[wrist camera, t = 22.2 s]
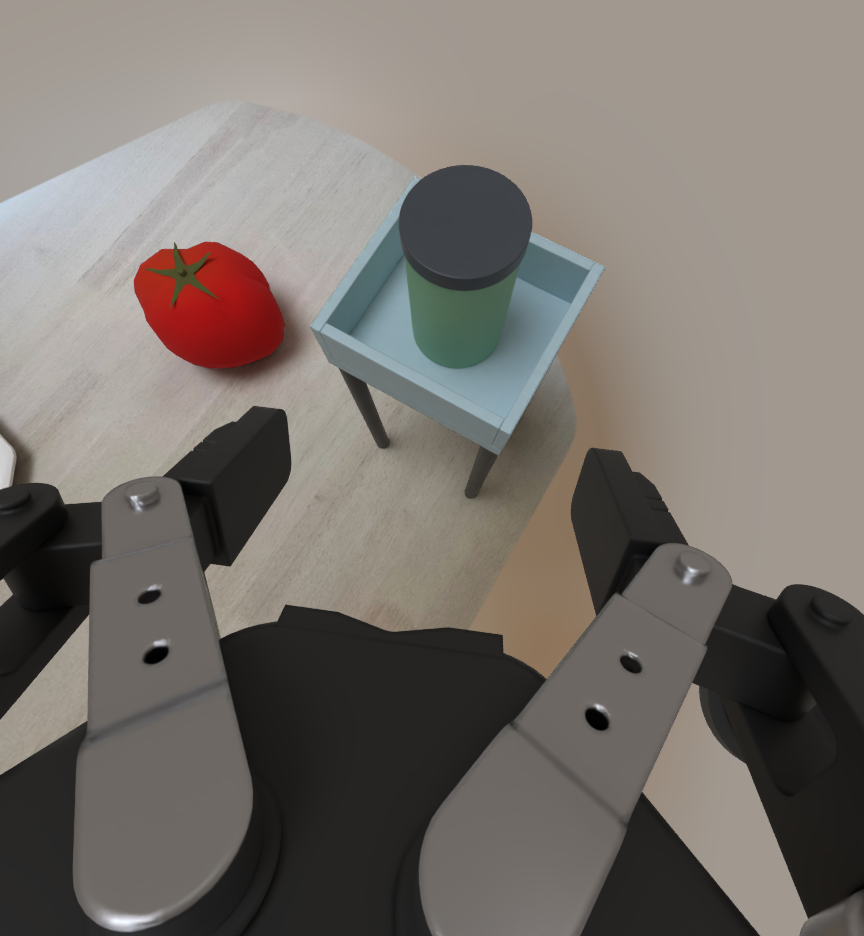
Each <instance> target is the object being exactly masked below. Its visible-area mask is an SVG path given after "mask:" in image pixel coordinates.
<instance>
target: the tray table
mask: <svg viewBox="0 0 864 936" xmlns="http://www.w3.org/2000/svg"><path fill="white" fill-rule="evenodd" d="M420 180H421V179H419V178H417V177H414V178H413V180H412V181H411V183H410V184H409V185H408V187H407V188H406V190H405V191H404V193H403V194H402V195H401V197H400V198H399V200H398V201H397V203H396V204H395V205H394V207H393V208H392V210H391V211H390V213H389V214H388V215H387V217H386V218H385V220H384V221H383V223H382V224H381V225H380V227H379V228H378V230H377V231H376V233H375V234H374V235H373V237H372V238H371V240H370V241H369V243H368V244H367V245H366V247H365V248H364V250H363V251H362V253H361V254H360V255H359V257H358V258H357V260H356V261H355V263H354V264H353V265H352V267H351V268H350V270H349V271H348V273H347V274H346V275H345V277H344V278H343V280H342V281H341V283H340V284H339V285H338V287H337V288H336V290H335V291H334V293H333V294H332V295H331V297H330V298H329V300H328V301H327V303H326V304H325V305H324V307H323V308H322V310H321V311H320V313H319V314H318V315H317V317H316V318H315V320H314V321H313V323H312V324H311V325H310V327H311V329H312V331H313V333H314V335H315V337H316V339H317V341H318V342H319V344H320V346H321V348H322V350H323V352H324V354H325V356H326V358H327V360H328V361H329V363H331V364H333V365H335V366H336V367H338V368H339V370H340V372H341V374H342V376H343V378H344V380H345V382H346V384H347V386H348V388H349V390H350V392H351V394H352V396H353V398H354V400H355V402H356V404H357V406H358V408H359V410H360V412H361V414H362V416H363V418H364V420H365V422H366V424H367V426H368V428H369V430H370V432H371V434H372V436H373V438H374V440H375V442H376V444H377V446H378V447H379V448H386V447H387V446H388V445H389V440H388V437H387V435H386V432H385V430H384V427H383V425H382V422H381V420H380V417H379V415H378V412H377V409H376V407H375V404H374V402H373V399H372V397H371V394H370V392H369V389H368V387H367V384H369V385H371V386H373V387H375V388H376V389H378V390H380V391H382V392H384V393H386V394H387V395H389V396H391V397H393V398H395V399H396V400H398V401H400V402H402V403H404V404H406V405H407V406H409V407H411V408H413V409H415V410H416V411H418V412H420V413H422V414H424V415H426V416H427V417H429V418H431V419H433V420H435V421H436V422H438V423H440V424H442V425H444V426H446V427H447V428H449V429H451V430H453V431H455V432H457V433H458V434H460V435H462V436H464V437H466V438H467V439H469V440H471V441H473V442H475V443H477V444H478V445H480V448H479V451H478V454H477V457H476V460H475V463H474V465H473V468H472V471H471V474H470V477H469V480H468V483H467V486H466V489H465V495H466V497H467V498H470V499H472V498H475V497H476V495H477V494H478V492H479V490H480V488H481V486H482V484H483V482H484V480H485V479H486V477H487V475H488V473H489V471H490V469H491V467H492V465H493V464H494V462H495V460H496V458H497V456H499V455H500V454H501V452H502V450H503V448H504V447H505V445H506V443H507V441H508V440H509V438H510V436H511V434H512V433H513V431H514V429H515V427H516V425H517V424H518V422H519V420H520V418H521V417H522V415H523V413H524V411H525V410H526V408H527V406H528V404H529V402H530V401H531V399H532V397H533V395H534V394H535V392H536V390H537V388H538V387H539V385H540V383H541V381H542V379H543V378H544V376H545V374H546V372H547V371H548V369H549V367H550V365H551V364H552V362H553V360H554V358H555V356H556V355H557V353H558V351H559V349H560V348H561V346H562V344H563V342H564V341H565V339H566V337H567V335H568V333H569V332H570V330H571V328H572V326H573V325H574V323H575V321H576V319H577V318H578V316H579V314H580V312H581V310H582V309H583V307H584V305H585V303H586V302H587V300H588V298H589V296H590V294H591V293H592V291H593V289H594V287H595V285H596V283H597V282H598V280H599V278H600V276H601V275H602V273H603V271H604V269H605V267H604V266H602V265H600V264H598V263H594V261H592V260H590V259H588V258H585V257H583V256H581V255H579V254H577V253H575V252H573V251H571V250H569V249H567V248H565V247H562V246H560V245H558V244H556V243H554V242H552V241H550V240H547V239H545V238H544V237H541V236H539V235H537V234H535V233H533V232H531V236H530V240H529V243H528V247H527V250H526V253H525V256H524V257H523V259H522V261H521V263H520V267H519V271H518V274H517V278H516V282H515V285H514V289H513V293H512V297H511V300H510V304H509V308H508V311H507V315H506V319H505V322H504V326H503V330H502V334H501V337H500V340H499V343H498V345H497V347H496V348H495V350H494V351H493V352H492V353H491V355H490V356H488V357H487V358H486V359H485V360H483V361H482V362H480V363H478V364H476V365H473V366H470V367H465V368H450V367H445V366H442V365H439V364H437V363H435V362H433V361H431V360H430V359H429V358H427V357H426V356H425V355H424V354H423V353H422V352H421V350H420V349H419V348H418V346H417V344H416V342H415V339H414V335H413V329H412V320H411V310H410V301H409V292H408V283H407V274H406V264H405V255H404V253H403V250H402V246H401V241H400V233H399V214H400V210H401V206H402V204H403V201H404V199H405V198H406V196H407V194H408V193H409V191H410V190H411V189H412V188H413V186H414V185H416V184H417V183H418V182H419V181H420ZM366 383H367V384H366Z"/></svg>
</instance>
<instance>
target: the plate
mask: <svg viewBox="0 0 864 936" xmlns="http://www.w3.org/2000/svg"><path fill="white" fill-rule="evenodd" d="M16 458H17V456H16V453H15V449H14V448H13V447H12V446H11V445H10V444H9V443H8V442H7V441H6V440H5V438H4V437H3V436H2V435H1V434H0V489H3V488H7V487H10V486H12V483H13V477H14V470H15V464H16Z"/></svg>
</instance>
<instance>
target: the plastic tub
mask: <svg viewBox="0 0 864 936" xmlns="http://www.w3.org/2000/svg"><path fill="white" fill-rule="evenodd" d="M531 231H532V215H531V210H530V207H529V204H528V202H527V200H526V198H525V196H524V195H523V193H522V192H521V190H520V189H519V188H518V187H517V186H516V185H515V184H514V183H513V182H512V181H511V180H509V179H508V178H506V177H505V176H504V175H502V174H500V173H498V172H496V171H493V170H491V169H488V168H484V167H479V166H473V165H459V166H451V167H447V168H443V169H440V170H437V171H435V172H433V173H431V174H429V175H427V176H425V177H424V178H423V179H421V180H420V181H419V182H418V183H417V184H416V185H414V186H413V188H412V189H411V190H410V191H409V193H408V194H407V196H406V198H405V199H404V201H403V204H402V206H401V210H400V214H399V233H400V241H401V246H402V250H403V253H404V255H405V264H406V274H407V283H408V292H409V301H410V310H411V320H412V329H413V335H414V339H415V342H416V344H417V346H418V348H419V349H420V350H421V352H422V353H423V354H424V355H425V356H426V357H427V358H429V359H430V360H431V361H433V362H435V363H437V364H439V365H442V366H445V367H450V368H465V367H470V366H473V365H476V364H478V363H480V362H482V361H483V360H485V359H486V358H487V357H488V356H490V355H491V353H492V352H493V351H494V350H495V348H496V347H497V345H498V343H499V340H500V337H501V334H502V330H503V326H504V322H505V319H506V315H507V311H508V308H509V304H510V300H511V297H512V293H513V289H514V285H515V282H516V278H517V274H518V271H519V267H520V263H521V261H522V259H523V257H524V256H525V253H526V250H527V247H528V243H529V240H530V236H531Z"/></svg>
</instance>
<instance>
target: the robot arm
mask: <svg viewBox="0 0 864 936" xmlns="http://www.w3.org/2000/svg"><path fill="white" fill-rule="evenodd" d="M290 471H291V452H290V442H289V433H288V423H287V416H286V413H285V411H284V410H282V409H275V408H267V407H259V406H253V407H252V408H251V409H250V410H249V411H247V412H246V413H245V414H244V415H243V416H242V417H241V418H240V419H239V420H238V421H237V422H230V423H228V424H226V425H224V426H222V427H219V428H217V429H215V430H214V431H213V432H212V433H210V434H209V435H208V436H207V437H206V438H205V439H204V440H203V442H200V443H199V444H198V445H197V446H196V447H195V448H194V451H190V452H189V453H188V454H187V455H186V456H185V457H184V458H183V459H182V460H180V461H179V462H178V463H177V464H176V465H175V466H174V467H173V468H172V469H170V470H169V471H168V472H167V473H166V474H165V475H164V476H163V477H144V478H139V479H135V480H132V481H128V482H126V483H123V484H121V485H119V486H117V487H116V488H114V489H113V490H111V491H110V492H109V493H108V494H107V495H106V496H105V497H104V499H103V501H102V502H92V503H79V504H64V502H63V500H62V498H61V495H60V493H59V491H58V489H57V488H56V487H54V486H52V485H49V484H44V483H27V484H20V485H15V486H10V487H7V488H3V489H0V580H2V579H3V578H4V580H5V582H6V583H7V585H8V587H9V588H10V590H11V591H12V593H13V595H12V596H11V597H10V598H9V599H8V600H7V601H6V602H5V603H4V604H3V605H2V606H1V607H0V719H1V718H2V717H3V716H4V715H5V713H6V712H7V711H8V710H9V709H10V708H11V706H12V705H13V704H14V703H15V702H16V700H17V699H18V698H19V697H20V696H21V695H22V693H23V692H24V691H25V690H26V689H27V687H28V686H29V685H30V684H31V683H32V682H33V680H34V679H35V678H36V677H37V676H38V674H39V673H40V672H41V671H42V670H43V668H44V667H45V666H46V665H47V664H48V663H49V661H50V660H51V659H52V658H53V657H54V655H55V654H56V653H57V652H58V651H59V650H60V648H61V647H62V646H63V645H64V644H65V642H66V641H67V640H68V639H69V638H70V636H71V635H72V634H73V633H74V632H75V631H76V629H77V628H78V627H79V626H80V625H81V623H82V622H83V621H84V620H85V619H86V618H87V616H88V615H89V667H88V721H86V722H85V723H83V724H82V725H80V726H78V727H77V728H75V729H74V730H72V731H70V732H69V733H67V734H66V735H64V736H62V737H61V738H59V739H58V740H56V741H54V742H53V743H51V744H50V745H48V746H46V747H45V748H43V749H42V750H40V751H38V752H37V753H35V754H33V755H32V756H30V757H29V758H27V759H25V760H24V761H22V762H21V763H19V764H17V765H16V766H14V767H13V768H11V769H9V770H8V771H6V772H5V773H3V774H1V775H0V936H760V935H759V934H758V933H757V931H756V930H755V929H754V928H753V927H752V925H751V924H750V923H749V922H748V920H747V919H746V918H745V917H744V916H743V914H742V913H741V912H740V911H739V909H738V908H737V907H736V906H735V905H734V903H732V901H731V900H730V899H729V897H728V896H727V895H726V894H725V892H724V891H723V890H722V889H721V888H720V886H719V885H718V884H717V883H716V881H715V880H714V879H713V878H712V877H711V875H710V874H709V873H708V872H707V870H706V869H705V868H704V867H703V866H702V864H701V863H700V862H699V861H698V860H697V858H696V857H695V856H694V855H693V853H692V852H691V851H690V850H689V849H688V847H687V846H686V845H685V844H684V842H683V841H682V840H681V839H680V838H679V836H678V835H677V834H676V833H675V832H674V830H673V829H672V828H671V827H670V826H669V824H668V823H667V822H666V820H665V819H664V818H663V817H662V816H661V814H660V813H659V812H658V811H657V809H656V808H655V807H654V806H653V805H652V804H651V802H650V801H649V800H648V799H647V798H646V796H645V795H644V794H643V792H642V790H643V788H644V786H645V784H646V782H647V779H648V777H649V775H650V773H651V770H652V769H653V766H654V764H655V762H656V760H657V758H658V755H659V753H660V751H661V749H662V747H663V745H664V742H665V740H666V738H667V736H668V733H669V731H670V729H671V727H672V725H673V723H674V721H675V719H676V716H677V714H678V712H679V710H680V708H681V706H682V703H683V701H684V699H685V697H686V695H687V693H688V690H689V688H690V686H691V684H692V683H694V684H696V685H699V686H701V687H703V688H706V689H708V690H711V691H713V692H715V693H718V694H719V696H720V699H721V701H722V704H723V706H724V710H725V714H726V717H727V719H728V722H729V724H730V726H731V728H732V729H733V731H734V734H735V736H736V739H737V741H738V744H739V746H740V749H741V751H742V754H743V756H744V759H745V761H746V764H747V766H748V769H749V771H750V773H751V776H752V779H753V782H754V784H755V786H756V789H757V792H758V794H759V797H760V799H761V802H762V804H763V806H764V809H765V812H766V814H767V816H768V819H769V822H770V824H771V827H772V829H773V832H774V834H775V837H776V839H777V841H778V844H779V847H780V849H781V852H782V854H783V857H784V859H785V862H786V864H787V866H788V869H789V872H790V874H791V877H792V879H793V882H794V884H795V887H796V889H797V892H798V894H799V897H800V899H801V902H802V904H803V907H804V909H805V912H806V914H807V917H808V920H807V921H806V922H805V923H804V925H803V927H802V928H801V932H800V936H864V615H863V614H862V613H861V612H860V611H859V610H857V609H856V608H855V607H854V606H852V605H851V604H849V603H848V602H846V601H844V600H843V599H841V598H839V597H838V596H836V595H834V594H832V593H830V592H827V591H825V590H822V589H819V588H816V587H813V586H808V585H801V584H797V585H796V584H795V585H790V586H787V587H786V588H785V589H784V590H783V591H782V592H781V594H780V595H779V597H778V598H777V599H776V600H775V599H773V598H770V597H767V596H763V595H761V594H758V593H755V592H752V591H749V590H746V589H744V588H741V587H738V586H735V585H733V584H732V579H731V576H730V574H729V572H728V571H727V570H726V569H725V567H724V566H723V565H722V564H721V563H720V562H718V561H717V560H716V559H715V558H713V557H712V556H710V555H709V554H707V553H705V552H703V551H701V550H699V549H697V548H694V547H691V546H689V545H688V543H687V542H686V540H685V538H684V536H683V535H682V533H681V531H680V529H679V527H678V526H677V524H676V522H675V520H674V519H673V517H672V515H671V513H670V512H668V508H667V506H666V505H665V503H664V501H662V497H661V496H660V494H659V492H658V491H657V489H656V487H655V485H654V484H652V483H651V482H650V481H649V480H648V479H647V478H645V477H644V476H643V475H642V474H641V473H639V472H632V470H631V468H630V466H629V465H628V463H627V461H626V459H625V457H624V455H623V453H622V452H621V451H614V450H606V449H598V448H590V449H589V450H588V452H587V454H586V457H585V460H584V463H583V466H582V469H581V473H580V476H579V479H578V482H577V485H576V488H575V492H574V495H573V498H572V505H571V520H572V523H573V528H574V532H575V535H576V539H577V543H578V547H579V551H580V555H581V559H582V563H583V566H584V570H585V574H586V578H587V582H588V585H589V589H590V593H591V597H592V601H593V605H594V609H595V613H596V617H595V619H594V620H593V621H592V623H591V624H590V625H589V626H588V628H587V629H586V630H585V631H584V633H583V634H582V635H581V637H580V638H579V639H578V640H577V642H576V643H575V644H574V646H573V647H572V648H571V649H570V651H569V652H568V653H567V654H566V656H565V657H564V658H563V659H562V661H561V662H560V663H559V665H558V666H557V667H556V668H555V670H554V671H553V672H552V673H551V675H550V676H549V677H548V679H546V678H544V676H542V675H541V674H540V673H538V672H537V671H536V670H535V669H533V668H532V667H530V666H528V665H527V664H525V663H524V662H522V661H520V660H518V659H516V658H514V657H512V656H510V655H507V654H505V653H503V636H502V635H499V634H491V633H484V632H477V631H470V630H463V629H456V628H449V627H448V628H436V629H424V630H412V631H400V632H390V631H386V630H383V629H380V628H378V627H375V626H373V625H370V624H368V623H365V622H362V621H360V620H357V619H355V618H352V617H350V616H347V615H344V614H342V613H339V612H334V611H327V610H320V609H313V608H306V607H298V606H291V605H285V607H284V609H283V611H282V613H281V615H280V617H279V619H278V621H277V622H270V623H265V624H259V625H255V626H252V627H248V628H245V629H242V630H239V631H237V632H234V633H232V634H229V635H227V636H225V637H223V638H221V637H220V633H219V629H218V625H217V621H216V617H215V613H214V609H213V605H212V601H211V597H210V593H209V589H208V585H207V581H206V577H205V573H204V572H205V570H206V569H207V568H208V566H209V565H210V564H216V565H223V566H231V565H232V563H233V562H234V560H235V559H236V557H237V556H238V554H239V553H240V551H241V550H242V548H243V547H244V545H245V544H246V542H247V541H248V539H249V538H250V536H251V535H252V533H253V532H254V531H255V529H256V528H257V526H258V525H259V523H260V522H261V520H262V519H263V517H264V516H265V514H266V513H267V511H268V510H269V508H270V507H271V505H272V504H273V502H274V501H275V499H276V498H277V496H278V495H279V493H280V492H281V490H282V489H283V487H284V486H285V484H286V483H287V481H288V479H289V475H290Z"/></svg>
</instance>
